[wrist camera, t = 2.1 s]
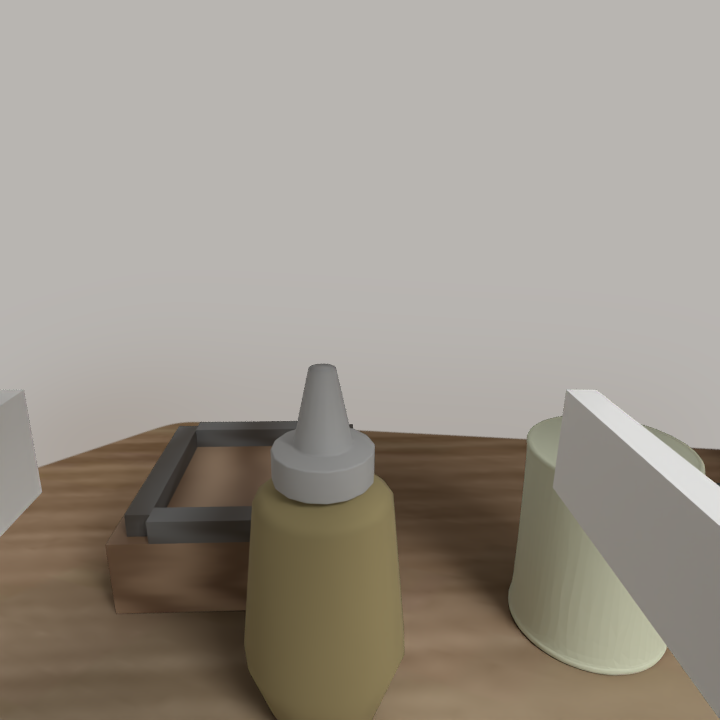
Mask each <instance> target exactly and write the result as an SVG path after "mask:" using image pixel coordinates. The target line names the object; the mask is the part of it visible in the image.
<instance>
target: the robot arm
mask: <svg viewBox="0 0 720 720" xmlns="http://www.w3.org/2000/svg"><path fill="white" fill-rule="evenodd" d="M553 489H554V490H555V491H556V493H557V494H558V496H559V497H560V498H561V500H562V501H563V502H564V504H565V505H566V507H567V508H568V509H569V511H570V512H571V514H572V515H573V516H574V518H575V519H576V520H577V522H578V523H579V525H580V526H581V527H582V529H583V530H584V532H585V533H586V534H587V536H588V537H589V539H590V540H591V541H592V543H593V544H594V545H595V547H596V548H597V550H598V551H599V552H600V554H601V555H602V557H603V558H604V559H605V561H606V562H607V564H608V565H609V566H610V568H611V569H612V570H613V572H614V573H615V575H616V576H617V577H618V579H619V580H620V582H621V583H622V584H623V586H624V587H625V588H626V590H627V591H628V593H629V594H630V595H631V597H632V598H633V600H634V601H635V602H636V604H637V605H638V607H639V608H640V609H641V611H642V612H643V613H644V615H645V616H646V618H647V619H648V620H649V622H650V623H651V625H652V626H653V627H654V629H655V630H656V632H657V633H658V634H659V636H660V637H661V638H662V640H663V641H664V643H665V644H666V645H667V647H668V648H669V650H670V651H671V652H672V654H673V655H674V656H675V658H676V659H677V661H678V662H679V663H680V665H681V666H682V668H683V669H684V670H685V672H686V673H687V675H688V676H689V677H690V679H691V680H692V681H693V683H694V684H695V686H696V687H697V688H698V690H699V691H700V693H701V694H702V695H703V697H704V698H705V700H706V701H707V702H708V704H709V705H710V706H711V708H712V709H713V711H714V712H715V713H716V715H717V716H718V718H720V483H714V482H713V481H712V480H711V479H709V478H708V477H707V476H706V475H704V474H703V473H702V472H700V471H699V470H698V469H697V468H695V467H694V466H693V465H692V464H690V463H689V462H688V461H686V460H685V459H684V458H683V457H681V456H680V455H679V454H678V453H676V452H675V451H674V450H672V449H671V448H670V447H669V446H667V445H666V444H665V443H664V442H662V441H661V440H660V439H658V438H657V437H656V436H655V435H653V434H652V433H651V432H650V431H648V430H647V429H646V428H645V427H643V426H642V425H641V424H639V423H638V422H637V421H636V420H634V419H633V418H632V417H630V416H629V415H628V414H627V413H625V412H624V411H623V410H622V409H620V408H619V407H618V406H617V405H615V404H614V403H613V402H611V401H610V400H609V399H608V398H606V397H605V396H604V395H603V394H601V393H600V392H599V391H597V390H566V396H565V403H564V409H563V417H562V424H561V431H560V438H559V446H558V453H557V460H556V467H555V475H554V482H553ZM41 493H42V489H41V483H40V478H39V472H38V466H37V461H36V455H35V449H34V444H33V439H32V432H31V427H30V421H29V416H28V410H27V405H26V399H25V393H24V390H0V536H1V535H2V534H3V533H4V532H5V531H6V530H7V529H8V528H9V527H10V526H11V525H12V524H13V523H14V522H15V520H16V519H17V518H18V517H19V516H20V515H21V514H22V513H23V512H24V511H25V510H26V509H27V508H28V507H29V506H30V505H31V503H32V502H33V501H34V500H35V499H36V498H37V497H38V496H39V495H40V494H41Z"/></svg>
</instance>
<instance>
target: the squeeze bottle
mask: <svg viewBox="0 0 720 720" xmlns="http://www.w3.org/2000/svg"><path fill="white" fill-rule="evenodd" d="M270 453H271V475H272V477H271V478H270V479H269V480H268V481H266V482H265V483H264V484H263V485H261V486H260V487H259V488H258V490H257V493H256V495H255V497H254V499H253V501H252V513H251V531H250V548H249V566H248V583H247V601H246V618H245V635H244V648H245V653H246V659H247V665H248V670H249V672H250V674H251V676H252V677H253V679H254V681H255V683H256V685H257V686H258V688H259V690H260V692H261V693H262V695H263V697H264V699H265V701H266V702H267V704H268V706H269V708H270V710H271V711H272V713H273V715H274V716H275V717H276V719H277V720H372V719H373V717H374V715H375V713H376V711H377V709H378V707H379V705H380V703H381V701H382V699H383V697H384V695H385V693H386V691H387V689H388V687H389V685H390V683H391V681H392V679H393V677H394V675H395V673H396V670H397V668H398V666H399V664H400V662H401V660H402V658H403V656H404V623H403V611H402V598H401V585H400V573H399V560H398V548H397V535H396V523H395V510H394V497H393V492H392V491H391V490H390V488H389V487H388V486H387V484H386V483H385V481H384V480H383V479H381V478H380V477H378V476H377V475H375V474H374V457H375V445H374V443H373V442H372V441H371V440H370V438H369V437H368V436H367V435H365V434H363V433H361V432H359V431H357V430H355V429H352V428H350V427H349V422H348V418H347V414H346V409H345V405H344V400H343V397H342V392H341V388H340V383H339V379H338V375H337V370H336V367H335V366H333V365H330V364H315V365H312V366H310V367H309V369H308V374H307V378H306V383H305V388H304V393H303V398H302V403H301V407H300V412H299V417H298V422H297V427H296V429H295V430H292V431H289V432H286V433H285V434H284V435H282V436H281V437H279V438H278V439H276V440H275V442H274V444H273V446H272V448H271V450H270Z"/></svg>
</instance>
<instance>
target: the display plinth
mask: <svg viewBox="0 0 720 720" xmlns="http://www.w3.org/2000/svg"><path fill="white" fill-rule="evenodd" d="M297 422H298V421H271V422H269V421H268V422H267V421H266V422H200V424H199V425H198V426H179V428H178V429H177V431H176V432H175V434H174V436H173V437H172V439H171V440H170V442H169V443H168V445H167V447H166V448H165V450H164V451H163V453H162V455H161V456H160V458H159V459H158V461H157V463H156V464H155V466H154V467H153V469H152V471H151V472H150V474H149V476H148V477H147V479H146V480H145V482H144V484H143V485H142V487H141V488H140V490H139V492H138V493H137V495H136V496H135V498H134V500H133V501H132V503H131V505H130V506H129V508H128V509H127V511H126V513H125V514H124V516H123V517H122V519H121V521H120V522H119V524H118V525H117V527H116V529H115V530H114V532H113V533H112V535H111V537H110V538H109V540H108V542H107V543H106V545H105V546H106V552H107V559H108V565H109V571H110V578H111V584H112V591H113V597H114V603H115V610H116V614H123V613H161V612H200V611H238V610H246V601H247V583H248V566H249V548H250V531H251V513H252V501H253V499H254V497H255V495H256V493H257V490H258V488H259V487H260V486H261V485H263V484H264V483H265V482H266V481H268V480H269V479H270V478H271V477H272V475H271V453H270V450H271V448H272V446H273V444H274V442H275V440H276V439H278V438H279V437H281V436H282V435H284V434H285V433H286V432H289V431H292V430H295V429H296V427H297ZM349 427H350V428H352V429H353V425H352V424H349Z"/></svg>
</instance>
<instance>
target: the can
mask: <svg viewBox="0 0 720 720" xmlns="http://www.w3.org/2000/svg"><path fill="white" fill-rule="evenodd" d="M562 417H563V416H561V417H555V418H550V419H547V420H544V421H542V422H540V423H538V424H536V425H535V426H533V427H532V428H531V429H530V431H529V432H528V435H527V454H526V466H525V476H524V486H523V496H522V505H521V514H520V523H519V532H518V541H517V549H516V557H515V565H514V572H513V578H512V583H511V585H510V588H509V592H508V603H509V608H510V611H511V614H512V616H513V618H514V620H515V622H516V624H517V625H518V627H519V628H520V630H521V631H522V632H523V633H524V634H525V635H526V637H527V638H528V639H529V640H530V641H531V642H533V643H534V644H535V645H536V646H537V647H539V648H540V649H541V650H543V651H544V652H546V653H547V654H549V655H550V656H552V657H554V658H555V659H557V660H559V661H561V662H563V663H566V664H568V665H570V666H573V667H576V668H578V669H582V670H585V671H589V672H592V673H598V674H606V675H627V674H633V673H638V672H641V671H644V670H646V669H648V668H650V667H652V666H653V665H654V664H656V663H657V662H658V661H659V660H660V659H661V658H662V656H663V655H664V653H665V651H666V648H667V645H666V644H665V643H664V641H663V640H662V638H661V637H660V636H659V634H658V633H657V632H656V630H655V629H654V627H653V626H652V625H651V623H650V622H649V620H648V619H647V618H646V616H645V615H644V613H643V612H642V611H641V609H640V608H639V607H638V605H637V604H636V602H635V601H634V600H633V598H632V597H631V595H630V594H629V593H628V591H627V590H626V588H625V587H624V586H623V584H622V583H621V582H620V580H619V579H618V577H617V576H616V575H615V573H614V572H613V570H612V569H611V568H610V566H609V565H608V564H607V562H606V561H605V559H604V558H603V557H602V555H601V554H600V552H599V551H598V550H597V548H596V547H595V545H594V544H593V543H592V541H591V540H590V539H589V537H588V536H587V534H586V533H585V532H584V530H583V529H582V527H581V526H580V525H579V523H578V522H577V520H576V519H575V518H574V516H573V515H572V514H571V512H570V511H569V509H568V508H567V507H566V505H565V504H564V502H563V501H562V500H561V498H560V497H559V496H558V494H557V493H556V491H555V490H554V489H553V482H554V475H555V467H556V460H557V453H558V446H559V438H560V431H561V424H562ZM641 425H642V424H641ZM642 426H643V427H645V428H646V429H647V430H648V431H650V432H651V433H652V434H653V435H655V436H656V437H657V438H658V439H660V440H661V441H662V442H664V443H665V444H666V445H667V446H669V447H670V448H671V449H672V450H674V451H675V452H676V453H678V454H679V455H680V456H681V457H683V458H684V459H685V460H686V461H688V462H689V463H690V464H692V465H693V466H694V467H695V468H697V469H698V470H699V471H700V472H702V473H703V474H704V475H705V465H704V463H703V461H702V459H701V458H700V456H699V455H698V454H697V453H696V452H695V451H694V450H693V449H691V448H690V447H689V446H688V445H686V444H685V443H683V442H681V441H680V440H678V439H676V438H674V437H672V436H670V435H668V434H666V433H664V432H661V431H659V430H656V429H654V428H651V427H648V426H645V425H642Z"/></svg>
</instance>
